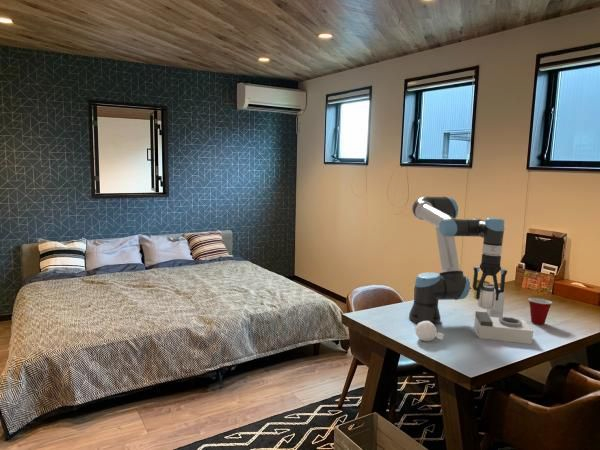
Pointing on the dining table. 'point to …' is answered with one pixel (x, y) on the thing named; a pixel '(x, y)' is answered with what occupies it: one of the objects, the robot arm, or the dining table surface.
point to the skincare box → (497, 307)
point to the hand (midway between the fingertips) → (486, 306)
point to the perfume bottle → (427, 331)
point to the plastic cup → (539, 310)
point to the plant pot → (477, 286)
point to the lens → (487, 296)
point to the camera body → (502, 328)
